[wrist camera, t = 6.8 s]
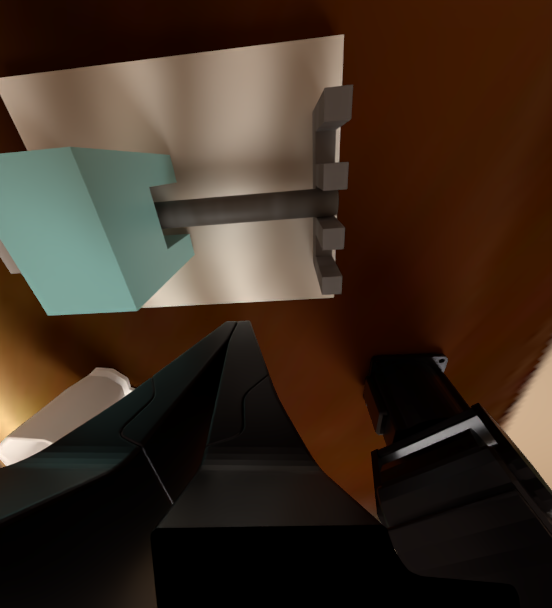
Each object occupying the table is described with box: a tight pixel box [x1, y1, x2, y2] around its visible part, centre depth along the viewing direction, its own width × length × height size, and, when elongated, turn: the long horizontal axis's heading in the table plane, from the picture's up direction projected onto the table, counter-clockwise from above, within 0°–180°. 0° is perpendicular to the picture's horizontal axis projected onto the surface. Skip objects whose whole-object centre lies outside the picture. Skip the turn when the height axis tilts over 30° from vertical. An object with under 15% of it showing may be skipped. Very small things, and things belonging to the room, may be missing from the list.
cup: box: [0, 367, 135, 466], centre depth 22 cm, size 7×10×8 cm
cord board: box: [0, 35, 353, 308], centre depth 14 cm, size 18×14×6 cm
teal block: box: [0, 147, 195, 316], centre depth 12 cm, size 4×6×7 cm
